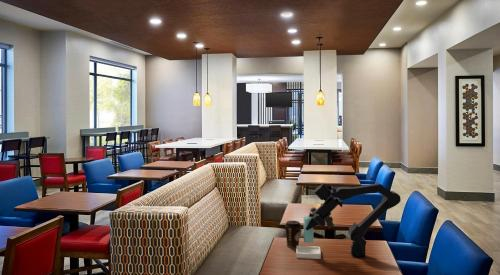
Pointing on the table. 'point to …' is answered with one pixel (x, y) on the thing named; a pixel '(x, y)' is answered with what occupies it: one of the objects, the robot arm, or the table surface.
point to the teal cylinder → (307, 231)
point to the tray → (308, 252)
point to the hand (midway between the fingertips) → (305, 228)
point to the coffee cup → (292, 233)
